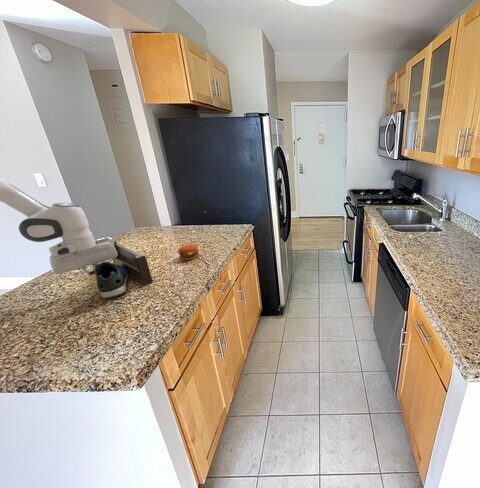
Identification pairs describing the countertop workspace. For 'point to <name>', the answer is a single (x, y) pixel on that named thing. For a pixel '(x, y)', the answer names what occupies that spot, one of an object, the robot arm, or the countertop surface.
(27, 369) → the countertop surface
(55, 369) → the countertop surface
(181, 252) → the hamburger
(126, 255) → the dark brown channel tray
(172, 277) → the countertop surface
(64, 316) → the countertop surface
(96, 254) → the robot arm
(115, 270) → the water shoe
